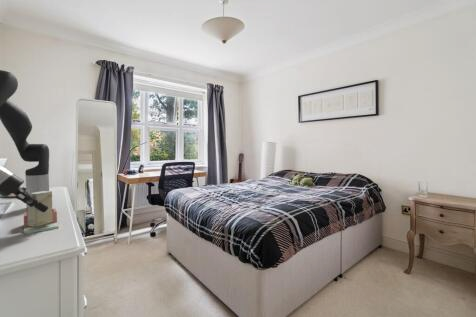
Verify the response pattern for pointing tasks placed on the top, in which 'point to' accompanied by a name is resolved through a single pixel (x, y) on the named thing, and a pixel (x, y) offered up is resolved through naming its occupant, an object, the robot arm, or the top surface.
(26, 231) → the pad
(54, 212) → the bin
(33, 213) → the skincare box
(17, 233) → the top surface
